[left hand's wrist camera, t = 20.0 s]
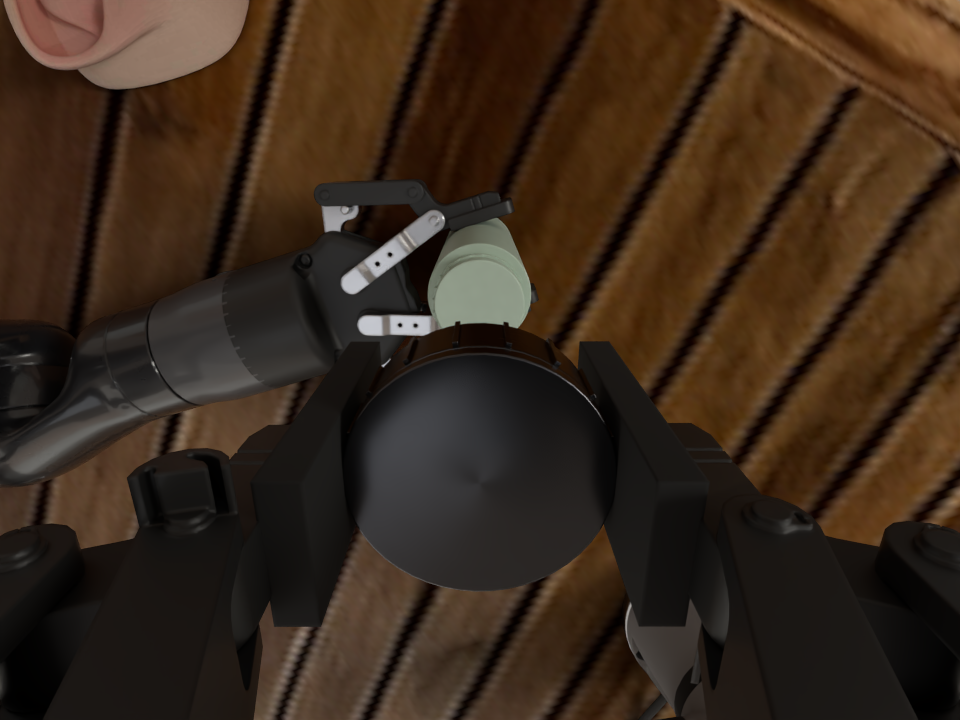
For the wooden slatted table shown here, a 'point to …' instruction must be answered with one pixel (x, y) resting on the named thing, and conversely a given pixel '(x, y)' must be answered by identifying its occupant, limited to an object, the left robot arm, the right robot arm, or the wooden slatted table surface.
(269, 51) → the wooden slatted table surface
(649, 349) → the wooden slatted table surface
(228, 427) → the wooden slatted table surface
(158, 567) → the left robot arm
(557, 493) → the lid
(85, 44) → the anatomical model
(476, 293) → the pale green cylinder
